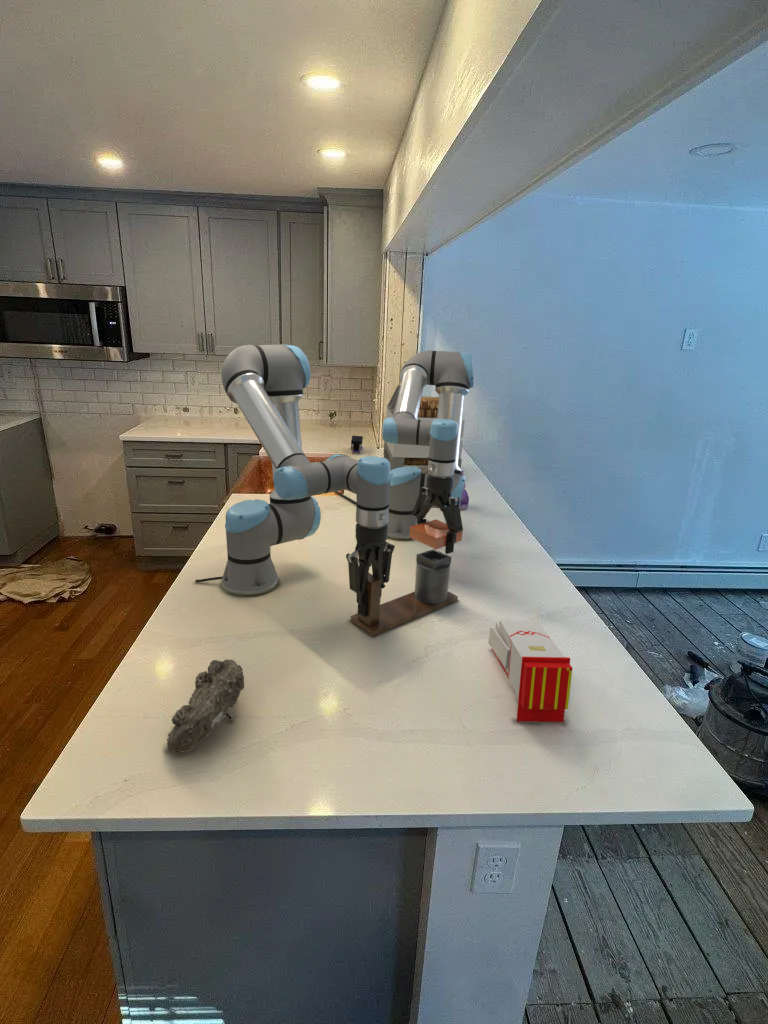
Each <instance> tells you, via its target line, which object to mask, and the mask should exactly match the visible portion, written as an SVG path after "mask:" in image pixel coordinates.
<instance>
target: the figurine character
mask: <svg viewBox="0 0 768 1024" xmlns="http://www.w3.org/2000/svg"><path fill="white" fill-rule="evenodd" d="M363 439H364V436H363V435H351V441H350V451H352V454H355V453H357V454H360V451H362V450H363V449H364V447H363Z"/></svg>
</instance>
